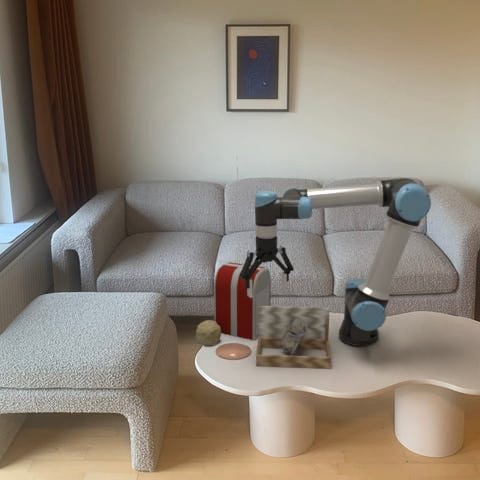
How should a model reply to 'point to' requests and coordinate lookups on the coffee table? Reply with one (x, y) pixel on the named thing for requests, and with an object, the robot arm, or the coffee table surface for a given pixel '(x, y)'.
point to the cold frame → (315, 338)
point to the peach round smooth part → (233, 351)
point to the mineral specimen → (293, 336)
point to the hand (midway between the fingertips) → (267, 293)
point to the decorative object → (208, 333)
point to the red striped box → (240, 300)
